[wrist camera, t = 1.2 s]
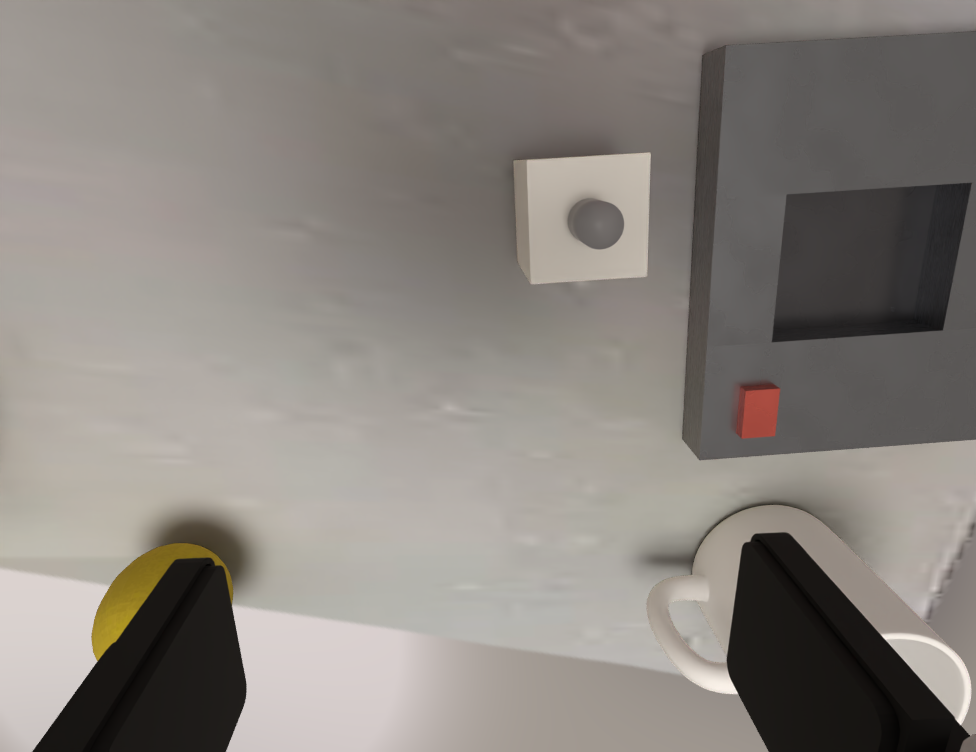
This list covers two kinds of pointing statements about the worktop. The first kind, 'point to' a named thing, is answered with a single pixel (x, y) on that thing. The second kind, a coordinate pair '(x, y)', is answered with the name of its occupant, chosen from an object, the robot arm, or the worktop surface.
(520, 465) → the worktop surface
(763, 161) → the socket
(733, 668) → the robot arm
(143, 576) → the lemon
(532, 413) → the worktop surface
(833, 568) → the cup
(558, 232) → the plug
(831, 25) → the worktop surface
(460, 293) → the worktop surface
